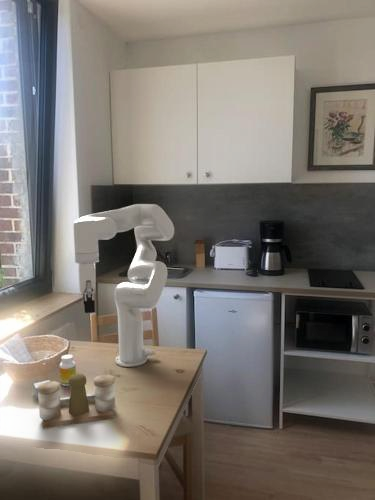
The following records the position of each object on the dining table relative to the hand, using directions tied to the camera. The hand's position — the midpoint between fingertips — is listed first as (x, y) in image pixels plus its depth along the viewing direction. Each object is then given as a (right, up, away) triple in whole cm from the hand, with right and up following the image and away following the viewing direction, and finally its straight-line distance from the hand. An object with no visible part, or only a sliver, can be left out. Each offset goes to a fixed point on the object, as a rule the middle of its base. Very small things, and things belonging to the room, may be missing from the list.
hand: (89, 308), depth 142 cm
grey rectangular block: (-15, -29, 0) cm, 33 cm away
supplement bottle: (-9, -28, +9) cm, 30 cm away
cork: (0, -29, -13) cm, 32 cm away
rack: (0, -30, -12) cm, 33 cm away
